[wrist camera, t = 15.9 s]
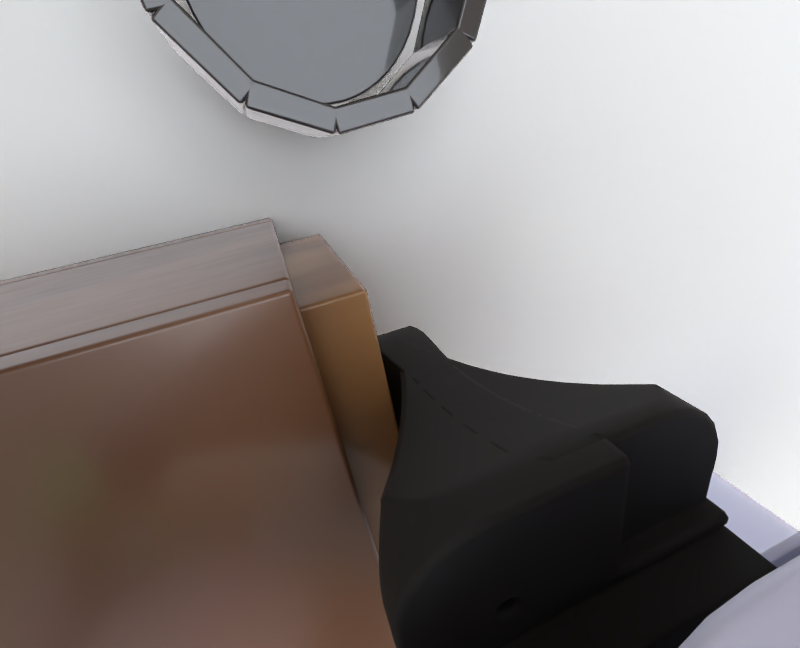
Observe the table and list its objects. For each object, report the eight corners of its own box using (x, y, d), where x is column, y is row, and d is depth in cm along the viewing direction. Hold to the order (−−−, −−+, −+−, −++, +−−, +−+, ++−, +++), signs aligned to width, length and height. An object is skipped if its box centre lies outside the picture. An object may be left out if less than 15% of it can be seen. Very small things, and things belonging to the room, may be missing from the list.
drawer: (361, 223, 11) (433, 269, 7) (426, 523, 17) (488, 654, 13) (-198, 363, 8) (-688, 595, 4) (108, 665, 14) (44, 896, 10)
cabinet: (271, 216, 11) (293, 288, 5) (373, 539, 17) (434, 732, 12) (-306, 352, 8) (-1530, 798, 3) (63, 675, 15) (-58, 1015, 9)
